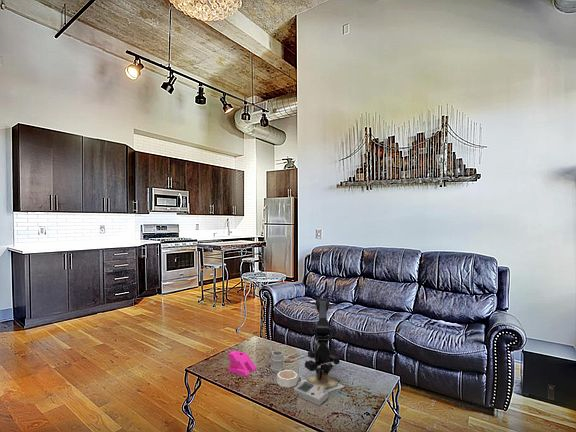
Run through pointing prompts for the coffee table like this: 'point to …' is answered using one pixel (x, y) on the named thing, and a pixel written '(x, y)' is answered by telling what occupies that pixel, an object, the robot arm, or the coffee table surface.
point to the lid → (322, 381)
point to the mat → (330, 387)
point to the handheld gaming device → (311, 393)
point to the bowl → (287, 378)
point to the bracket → (240, 363)
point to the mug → (275, 360)
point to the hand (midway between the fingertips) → (322, 379)
